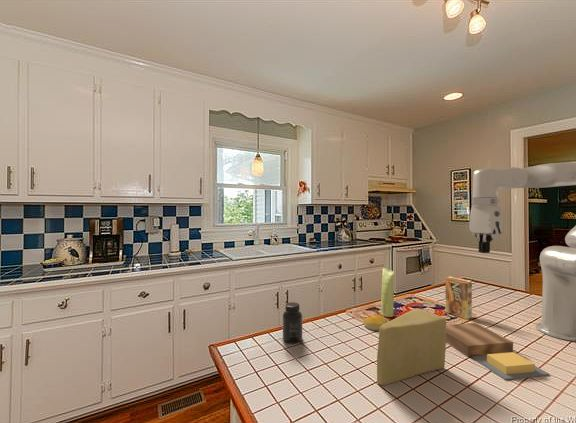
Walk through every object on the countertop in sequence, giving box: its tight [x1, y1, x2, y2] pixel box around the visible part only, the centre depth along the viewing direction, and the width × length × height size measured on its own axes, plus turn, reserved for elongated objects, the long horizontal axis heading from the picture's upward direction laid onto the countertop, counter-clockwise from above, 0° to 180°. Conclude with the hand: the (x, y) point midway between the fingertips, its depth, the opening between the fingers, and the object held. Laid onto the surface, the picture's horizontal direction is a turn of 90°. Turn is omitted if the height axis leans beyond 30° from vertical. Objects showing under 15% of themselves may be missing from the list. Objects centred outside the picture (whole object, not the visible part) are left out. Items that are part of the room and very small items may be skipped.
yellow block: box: [487, 351, 536, 374], centre depth 77 cm, size 9×6×2 cm, turn 98°
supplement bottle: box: [282, 301, 303, 344], centre depth 93 cm, size 7×7×12 cm
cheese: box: [376, 307, 447, 386], centre depth 75 cm, size 22×10×15 cm, turn 120°
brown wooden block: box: [446, 322, 514, 358], centre depth 90 cm, size 16×14×4 cm
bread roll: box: [363, 314, 389, 332], centre depth 103 cm, size 8×9×4 cm
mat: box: [471, 355, 550, 381], centre depth 78 cm, size 14×11×1 cm
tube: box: [380, 267, 395, 318], centre depth 113 cm, size 6×5×20 cm
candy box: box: [445, 276, 473, 320], centre depth 114 cm, size 9×4×15 cm, turn 33°
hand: (484, 252), depth 99 cm, fingers closed
